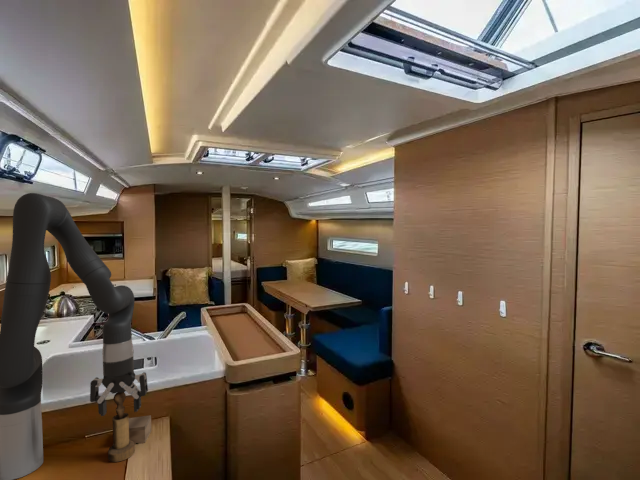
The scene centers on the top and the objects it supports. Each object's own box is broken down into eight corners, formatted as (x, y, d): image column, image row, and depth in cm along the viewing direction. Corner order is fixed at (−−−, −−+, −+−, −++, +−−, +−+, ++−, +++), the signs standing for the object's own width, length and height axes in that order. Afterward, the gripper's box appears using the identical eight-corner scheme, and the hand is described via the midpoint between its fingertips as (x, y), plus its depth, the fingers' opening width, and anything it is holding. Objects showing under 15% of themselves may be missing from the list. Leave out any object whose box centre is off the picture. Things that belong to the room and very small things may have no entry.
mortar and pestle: (139, 447, 99) (137, 386, 99) (127, 461, 93) (125, 397, 93) (116, 448, 99) (114, 388, 99) (103, 463, 93) (100, 398, 92)
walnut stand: (116, 447, 100) (115, 430, 100) (124, 434, 106) (123, 418, 106) (145, 442, 101) (144, 426, 101) (151, 430, 108) (150, 415, 108)
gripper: (84, 363, 90) (86, 423, 91) (141, 358, 94) (143, 415, 94) (96, 354, 98) (98, 409, 98) (149, 349, 101) (151, 402, 101)
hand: (120, 412), depth 96 cm, fingers open, 8 cm apart
